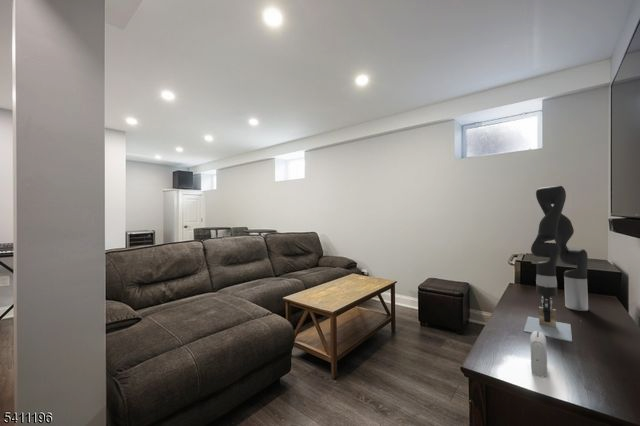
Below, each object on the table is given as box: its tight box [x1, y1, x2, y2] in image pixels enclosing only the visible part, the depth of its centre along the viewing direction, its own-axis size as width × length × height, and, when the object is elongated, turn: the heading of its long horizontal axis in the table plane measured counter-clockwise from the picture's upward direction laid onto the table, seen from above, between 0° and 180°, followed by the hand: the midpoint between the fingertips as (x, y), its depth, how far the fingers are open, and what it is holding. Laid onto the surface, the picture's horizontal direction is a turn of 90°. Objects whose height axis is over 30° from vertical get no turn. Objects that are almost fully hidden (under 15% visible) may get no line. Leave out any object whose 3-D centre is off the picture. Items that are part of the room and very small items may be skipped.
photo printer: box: [529, 331, 548, 377], centre depth 92 cm, size 10×4×12 cm, turn 140°
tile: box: [538, 306, 557, 328], centre depth 126 cm, size 2×6×8 cm, turn 48°
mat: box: [523, 316, 573, 343], centre depth 124 cm, size 22×16×1 cm
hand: (547, 320), depth 126 cm, fingers closed on tile, 2 cm apart
